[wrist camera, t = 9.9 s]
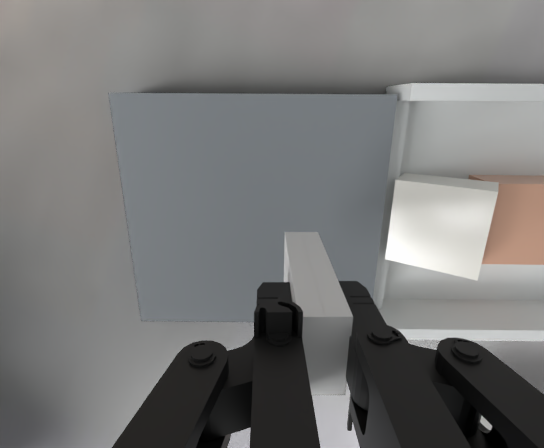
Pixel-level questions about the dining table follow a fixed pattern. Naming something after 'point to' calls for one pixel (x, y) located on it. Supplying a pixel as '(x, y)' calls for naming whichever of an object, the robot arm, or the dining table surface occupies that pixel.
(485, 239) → the tile
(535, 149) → the tray
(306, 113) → the board
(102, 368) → the dining table surface
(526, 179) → the tile
